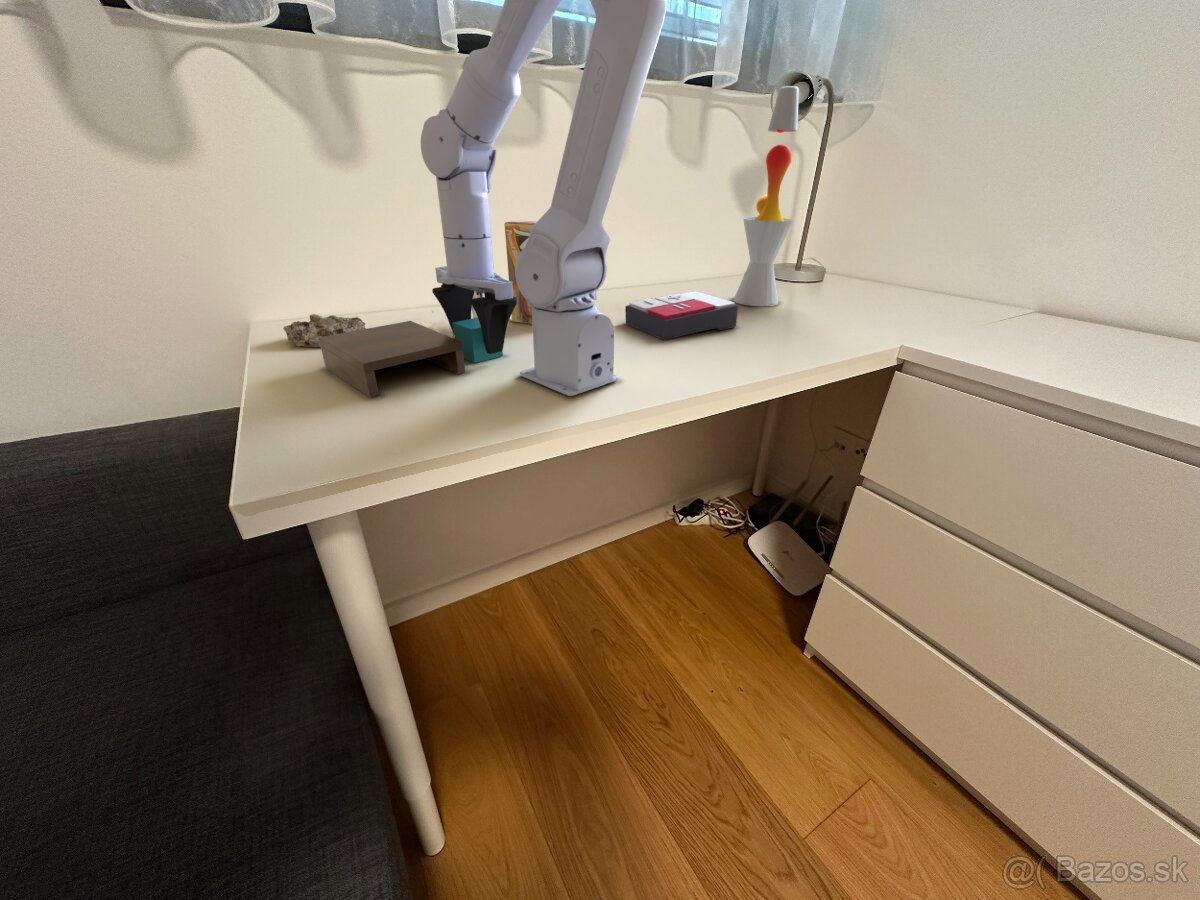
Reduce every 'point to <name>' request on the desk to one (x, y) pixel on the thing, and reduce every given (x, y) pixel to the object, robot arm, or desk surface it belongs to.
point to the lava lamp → (769, 211)
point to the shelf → (387, 352)
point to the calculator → (681, 314)
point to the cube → (472, 340)
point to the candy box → (515, 243)
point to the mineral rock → (320, 329)
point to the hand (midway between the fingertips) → (478, 345)
